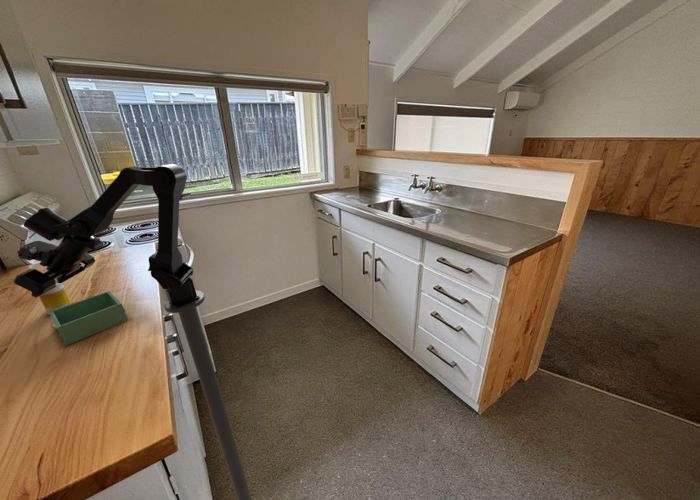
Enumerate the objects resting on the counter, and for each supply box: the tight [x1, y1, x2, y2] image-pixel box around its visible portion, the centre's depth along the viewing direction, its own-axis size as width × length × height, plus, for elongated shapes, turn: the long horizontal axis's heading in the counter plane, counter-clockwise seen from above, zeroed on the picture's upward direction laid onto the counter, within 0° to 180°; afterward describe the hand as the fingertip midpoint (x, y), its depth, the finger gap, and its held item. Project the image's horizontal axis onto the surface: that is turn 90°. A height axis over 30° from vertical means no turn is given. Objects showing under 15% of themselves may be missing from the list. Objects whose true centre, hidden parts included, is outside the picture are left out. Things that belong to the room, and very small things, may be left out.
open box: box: [49, 290, 129, 346], centre depth 73 cm, size 12×11×5 cm
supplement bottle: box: [37, 279, 73, 315], centre depth 79 cm, size 5×5×10 cm
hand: (45, 290), depth 79 cm, fingers open, 6 cm apart
